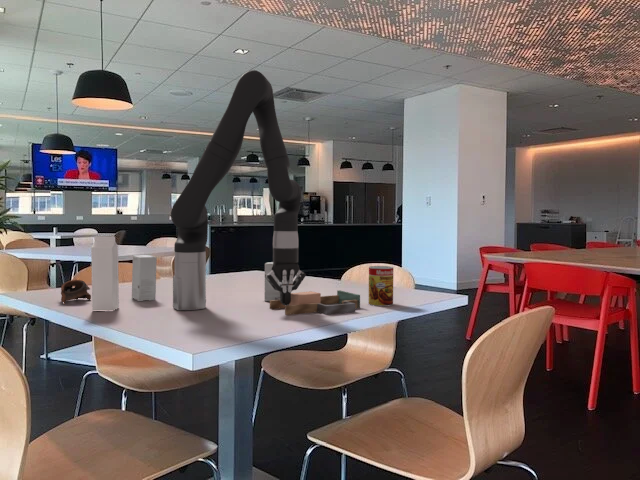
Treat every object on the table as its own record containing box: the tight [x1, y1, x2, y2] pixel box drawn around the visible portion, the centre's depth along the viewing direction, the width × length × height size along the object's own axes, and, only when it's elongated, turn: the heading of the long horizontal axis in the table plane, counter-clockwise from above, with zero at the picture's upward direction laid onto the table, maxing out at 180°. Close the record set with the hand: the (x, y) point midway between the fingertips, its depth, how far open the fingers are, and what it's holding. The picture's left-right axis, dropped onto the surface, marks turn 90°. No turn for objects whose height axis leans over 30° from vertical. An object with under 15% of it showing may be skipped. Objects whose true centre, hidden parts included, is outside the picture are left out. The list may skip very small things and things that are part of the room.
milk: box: [90, 235, 120, 311], centre depth 154 cm, size 6×6×22 cm
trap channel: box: [269, 290, 361, 316], centre depth 158 cm, size 25×22×4 cm
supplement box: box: [264, 261, 280, 302], centre depth 175 cm, size 7×7×13 cm
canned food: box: [368, 265, 394, 307], centre depth 167 cm, size 8×8×12 cm
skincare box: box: [131, 254, 158, 302], centre depth 175 cm, size 8×6×15 cm
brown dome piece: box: [60, 279, 92, 304], centre depth 170 cm, size 12×10×8 cm
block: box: [289, 290, 322, 305], centre depth 156 cm, size 8×5×5 cm, turn 126°
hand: (285, 304), depth 153 cm, fingers closed
